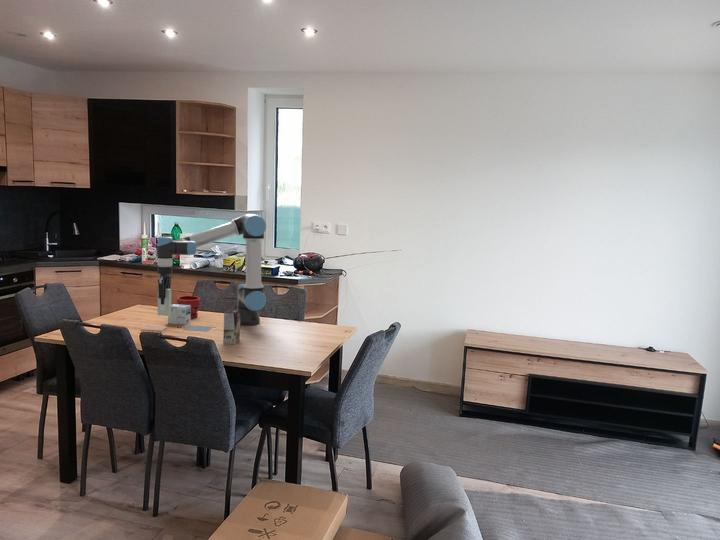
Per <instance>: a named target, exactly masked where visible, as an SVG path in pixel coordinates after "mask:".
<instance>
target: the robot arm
mask: <svg viewBox="0 0 720 540" xmlns="http://www.w3.org/2000/svg"><path fill="white" fill-rule="evenodd" d="M266 229H267V223H266V221H265V219H264V218H263V217H262V216H260V215H259V214H255V213H245V214H244V215H241V216H239V217H237V218H234V219H233V218H232V219H231V221H230V222H227V223H224V224H221V225H219V226H214V227H213V228H212V227H211V228H210V229H207V230H203V231H200V232H198V233H195V234H192V235H188V236H185V237H182V238H181V237H180V238H177V239H176V240H174V238H173V236H159V237H157V249H156V251H157V253H156V254H157V259H156V262H157V264H156V265H157V269H156V270H157V271H156V273H157V274H158V275H159V274H160V275H159V276H160V277H159V279H157V284H158V287H157V290H158V289H159V297H158V296H157V299H158V298H160V310H164V311H165V310H166V298H165V294H166V289H171V290H172V288H171V287H172V286H171V285H172V283H171V282H172V276H170V274H173V263H174V262H173V256H195V255H196V254H197V249H198V248H200V247H203V246H206V245H209V244H211V243H215V242H218V241H221V240H224V239H226V238H230V237H232V236H241V235H242V239H243V240H244V242H245V283H244V284H243V283H242V284H240V283H239V284H238V286H237V309H236V310H241V314H240V325H241V324H246V325H245V326H250V325H249V324H254V325H258V324H260V323H259V322H261V318H260V314H259V312H258V311H260V310H262V309H263V308H264V307H265V305H266V304H267V297H266V295H265V286H264V285H263V282H262V241H264V239H265V232H266ZM257 323H258V324H257Z"/></svg>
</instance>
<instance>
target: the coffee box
mask: <svg viewBox="0 0 720 540" xmlns="http://www.w3.org/2000/svg"><path fill="white" fill-rule="evenodd" d="M240 314H241V310H237V309H227V310H226V311H225V312H223V339H222V340H223V344H227V345H236V344H237V343H239V341H240V337H241V335H240V334H241V324H240Z"/></svg>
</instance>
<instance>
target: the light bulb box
mask: <svg viewBox="0 0 720 540" xmlns="http://www.w3.org/2000/svg"><path fill="white" fill-rule="evenodd" d="M190 312H191V305H182V304H181V305H178V304H177V303H176V304H175V303H173V304H172V303H171V315H169V316H167V317H168V320H167V322H168V324H173V325H174V324H175V325H183V326H185V325H188V324H190V323H191V318H190Z"/></svg>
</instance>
